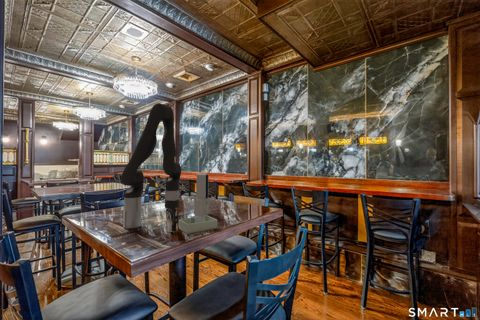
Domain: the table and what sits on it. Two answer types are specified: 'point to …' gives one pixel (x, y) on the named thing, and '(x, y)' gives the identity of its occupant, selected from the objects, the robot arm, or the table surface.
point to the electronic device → (202, 195)
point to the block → (197, 219)
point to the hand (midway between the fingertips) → (171, 229)
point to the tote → (197, 225)
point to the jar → (169, 226)
